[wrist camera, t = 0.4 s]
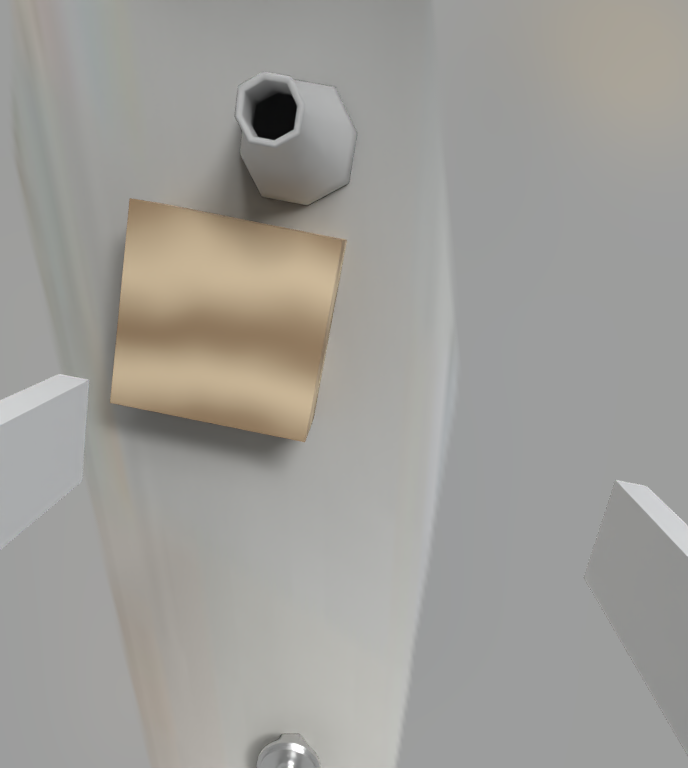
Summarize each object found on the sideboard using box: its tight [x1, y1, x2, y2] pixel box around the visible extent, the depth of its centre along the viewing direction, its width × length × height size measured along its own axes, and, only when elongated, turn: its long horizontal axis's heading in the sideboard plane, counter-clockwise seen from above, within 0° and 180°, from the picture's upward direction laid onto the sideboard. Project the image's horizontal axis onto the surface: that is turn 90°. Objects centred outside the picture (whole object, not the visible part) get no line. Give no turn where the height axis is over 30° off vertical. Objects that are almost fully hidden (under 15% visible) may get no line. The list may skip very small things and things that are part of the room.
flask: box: [235, 71, 357, 205], centre depth 31 cm, size 7×7×10 cm
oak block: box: [110, 198, 347, 442], centre depth 37 cm, size 12×12×5 cm
